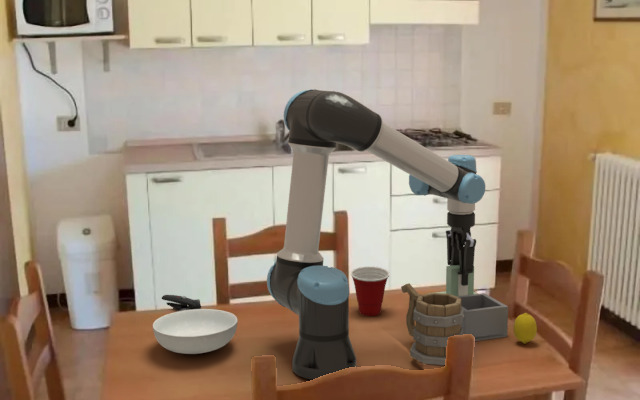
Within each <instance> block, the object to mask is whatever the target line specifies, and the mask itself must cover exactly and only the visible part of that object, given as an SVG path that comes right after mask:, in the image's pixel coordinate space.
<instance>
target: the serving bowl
mask: <svg viewBox="0 0 640 400" xmlns="http://www.w3.org/2000/svg"><path fill="white" fill-rule="evenodd" d="M238 321H239V320H238V317H237V316H236V315H235V314H234V313H232V312H230V311H226V310H223V309H222V310H220V309H215V308H201V309H193V310H184V311H179V310H177V311H175V312H171V313H167V314H165V315H161V316H160V317H159V318H157V319H155V320H154V321H153V323H152V331H153V335H154V338H155V339H156V341H157V342H158V344H159V345H160V346H161V347H163V348H165V350H168V351H170V352H173V353H178V354H185V355H198V354H203V353H209V352H213V351H215V350H218V349H221V348H223V347H224V346H226V345H227V344H228V343H230V341H232V339H233V337H234V336H235V334H236V331H237V328H238Z"/></svg>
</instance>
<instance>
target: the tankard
mask: <svg viewBox="0 0 640 400" xmlns="http://www.w3.org/2000/svg"><path fill="white" fill-rule="evenodd" d="M400 289H401V292H402V293H403V294H404V293H407V294H408V295H409V296H408V297H409V299H408V301H409V302H408V308H407V311H406V315H405V317H406V320H405V321H406V323H405V324H406V328H407V332H408V334H409V336H411V337H412V338H413V341H414V342H413V343H412V345H411V347H410V351H409V356H410V357H411V358H412V359H415V360H416V361H418V362H420V363H421V364H422V365H432V366H433V365H434V366H444V365H445V359H446V346H447V340H448V337H450V336H454V335H463V327H461V323H462V320H463V317H464V309H463V308H462V307H461V299H460V298H459V297H456V296H454V295H451V294H444V293H436V292H429V294H428V293H425V294H420V293H419V292H418V291H417V290H416V289H415V288H414V287H413V285H412V284H411V283H405V284H403V285H402V286H401V287H400ZM433 293H434V294H433ZM444 367H445V366H444Z"/></svg>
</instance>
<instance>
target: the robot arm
mask: <svg viewBox="0 0 640 400" xmlns="http://www.w3.org/2000/svg"><path fill="white" fill-rule="evenodd" d="M283 121H284V122H283V123H284V125H285V127H286V128H287V130H288V131H289V133H288V145H289V147H290V148H291V149H292V151H293V154H292V155H293V157H292V165H291V175H290V184H289V194H288V202H287V203H288V204H287V205H288V206H287V212H286V214H287V215H286V224H285V232H284V242H283V243H284V244H283V248H282V249H280V250H279V251H277V253H276V260H275V261H274V264H272V265H271V266H270V268H269V270H268V272H267V277H266V286H267V290H268V292H269V294H270V296H271V297H272V298H273V299H274V301H276V302H277V303H278V304H279V305H281V307H284V308H285V309H287V310H290V311H291V312H293V313H294V314H295V315H297V316H298V330H299V331H298V334H299V337H298V340H297V342H296V347H295V350H294V353H293V355H292V360H291V361H292V362H291V363H292V364H291V365H292V371H293V373H294V374H295V375H297V376H299V377H302V378H304V379H309V380H312V379H315V378H318V377H320V376H323V375H326V374H329V373H333V372H336V371H339V370H342V369H345V368H349V367H355V366H356V367H357V356H356V353H355V349H354V347H353V345H352V341H351V339H350V336H349V335H350V332H349V331H350V329H349V328H350V327H349V326H350V320H349V318H350V317H349V313H350V311H349V310H350V309H349V308H350V307H349V301H350V300H349V299H350V287H349V280H348V277H347V275H346V273H345V272H343V271H342V270H340V269H339V268H336V267H333V266H330V267H328V266H327V265H324V256H323V255H322V254H321V253H320V252H319V249H320V248H319V246H320V238H321V230H322V219H323V210H324V202H325V193H326V185H327V175H328V174H327V173H328V168H329V167H328V165H329V156H330V154H332V153H333V152H334V151H335V150H336V149H337V144H339V145H343V146H347V147H349V148H353V149H354V150H356V151H357V152H361V153H362V152H363V153H364V152H369V153H370V154H372V155H373V156H376V157H377V158H379V159H381V160H383V161H385V162H387V163H388V164H390V165H392V166H394V167H396V168H397V169H399V170H401V171H403V172H405V173H406V174H408V185H409V189H410V191H411V192H412V193H413V194H414V195H416V196H428V195H433V196H435V197H436V196H437V197H441V198H445V199H446V203H447V205H446V209H447V214H446V224H447V226H448V227H450V229H448V230H445V236H446V258H447V259H446V260H447V266H453V265H460V272H458V296H464V295H468V274H469V273H473V267H474V268H475V266H474V264H475V251H476V249H475V248H476V244H477V238H474V239H473V238H472V233H471V228H473V227H474V226H475V225H476V213H475V212H474V211H476V204H477V203H478V202H480V201H481V200H482V199H483V197H484V195H485V194H486V193H485V192H486V182H485V180H484V178H483V176H481V175H479V174H477V172H478V171H477V161H476V157H475V156H473V155H471V154H470V155H469V154H453V155H449V156H448V159H446V158H444V157H442V156H441V155H439V154H437V153H435V152H434V151H432V150H431V149H429V148H427V147H425V146H423V145H422V144H420V143H418V142H417V141H415V140H414V139H412V138H410V137H408V136H407V135H405V134H403V133H401V132H400V131H398V130H397V129H395V128H393V127H391V126H390V125H388V124H386V123H385V122H384V121H383V117H382V115H380V114H379V113H377V112H375V111H373V109H371V108H369V107H367V106H365V105H364V104H363V103H361V102H359V101H357V100H356V99H355V98H353V97H352V96H349V95H347V94H345V93H343V92H340V91H334V90H333V91H331V90H319V89H316V88H314V89H312V88H311V89H305V90H301V91H299V92H296V93H295V94H293V96H291V97H290V98H289V100H288V101H287V103H286V105H285V106H284V111H283Z"/></svg>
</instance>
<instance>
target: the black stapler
mask: <svg viewBox="0 0 640 400" xmlns="http://www.w3.org/2000/svg"><path fill="white" fill-rule="evenodd" d="M161 299H162V300H163V301H167V302H166V305H167V306H170V307H171V308H173V309H175V310H177V311H184V310H193V309H202V306H201V305H202V304H201V300H200V299H198V298H197V299H193V298H189V297H187V296H185V295H183V296H182V295H178V294H177V295H176V294H163V295H162V296H161Z"/></svg>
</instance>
